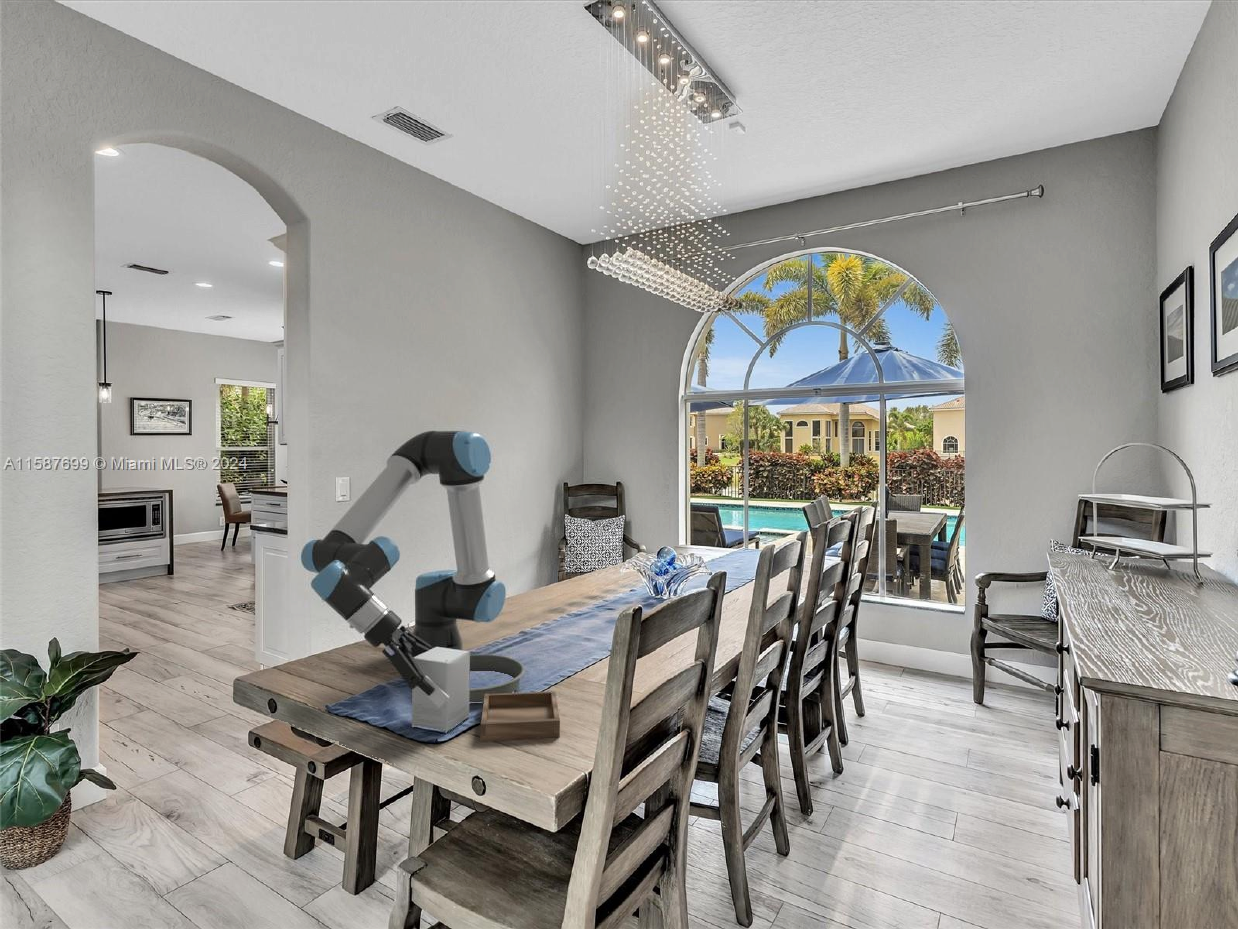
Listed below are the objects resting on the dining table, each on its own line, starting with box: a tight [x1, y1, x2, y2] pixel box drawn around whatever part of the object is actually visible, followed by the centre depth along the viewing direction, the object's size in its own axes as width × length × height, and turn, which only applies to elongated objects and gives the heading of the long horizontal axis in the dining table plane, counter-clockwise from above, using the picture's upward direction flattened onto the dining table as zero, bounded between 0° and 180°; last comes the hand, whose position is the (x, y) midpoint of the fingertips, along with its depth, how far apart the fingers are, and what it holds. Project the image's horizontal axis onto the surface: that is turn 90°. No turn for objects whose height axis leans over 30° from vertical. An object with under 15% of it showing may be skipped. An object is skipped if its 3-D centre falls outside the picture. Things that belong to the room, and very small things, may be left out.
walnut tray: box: [480, 690, 561, 742], centre depth 138 cm, size 16×16×4 cm
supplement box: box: [411, 647, 471, 732], centre depth 137 cm, size 9×9×15 cm
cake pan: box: [469, 653, 526, 702], centre depth 158 cm, size 25×25×4 cm
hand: (448, 690), depth 137 cm, fingers open, 13 cm apart
